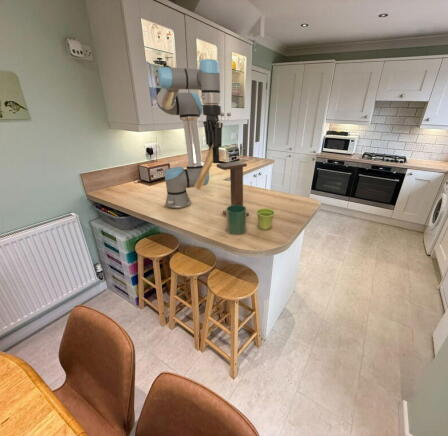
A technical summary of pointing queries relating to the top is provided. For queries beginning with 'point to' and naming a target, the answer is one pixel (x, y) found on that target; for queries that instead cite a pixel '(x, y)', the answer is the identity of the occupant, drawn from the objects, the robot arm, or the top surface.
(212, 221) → the top surface
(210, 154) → the stick
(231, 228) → the utensil pot
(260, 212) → the plant pot
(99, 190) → the top surface
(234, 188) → the brown wooden stand
